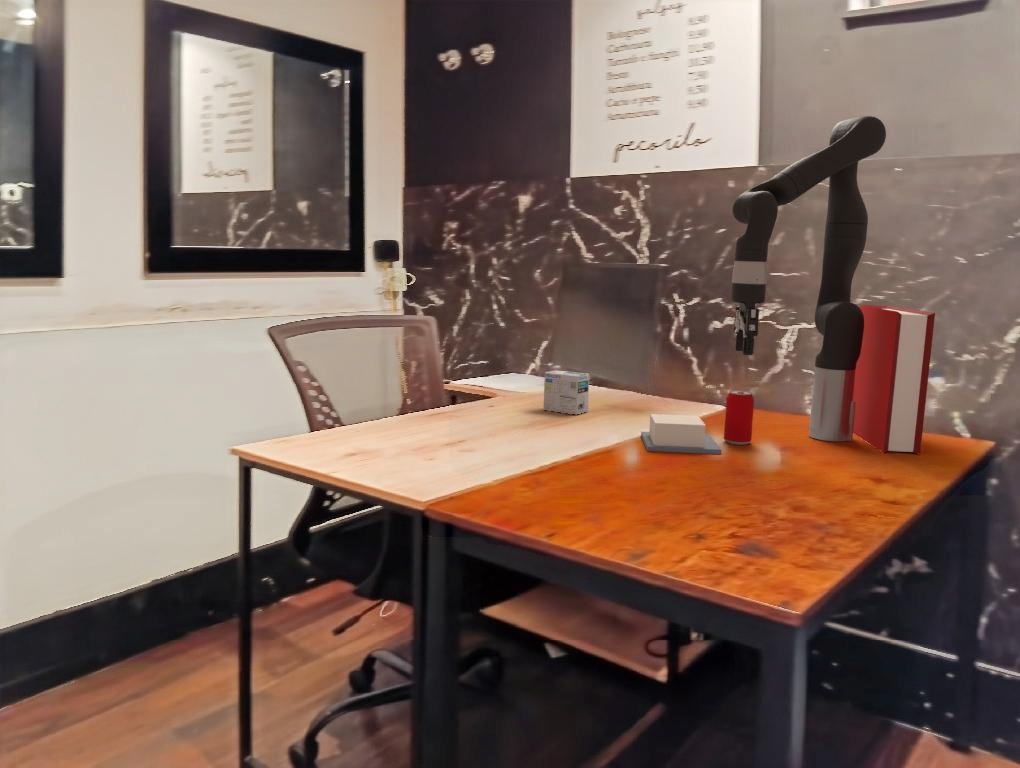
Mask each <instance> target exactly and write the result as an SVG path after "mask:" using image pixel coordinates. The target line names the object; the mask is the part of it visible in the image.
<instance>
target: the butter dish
mask: <svg viewBox="0 0 1020 768" xmlns="http://www.w3.org/2000/svg"><path fill="white" fill-rule="evenodd" d="M706 426H707V425H706V424H705V422H704V421H703V420H702V419H701V418H700V417H699V415H687V414H686V415H685V414H684V415H683V414H682V415H681V414H680V415H679V414H663V413H662V414H659V413H658V414H657V413H650V415H649V430H648V431H640V432H641V433H640V436H641V438H642V439H641V440H642V441H643V443H644V446H645V448H646V451H648V452H661V453H662V452H665V453H681V454H683V453H685V454H686V453H689V454H705V455H706V454H709V455H722V448H721V447H720V446H719V445H718V444H717V442H716V441H715V440H714V439H713V438H712V436H711V435H710V434H708V433H706V431H707V430H706V428H707V427H706Z"/></svg>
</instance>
